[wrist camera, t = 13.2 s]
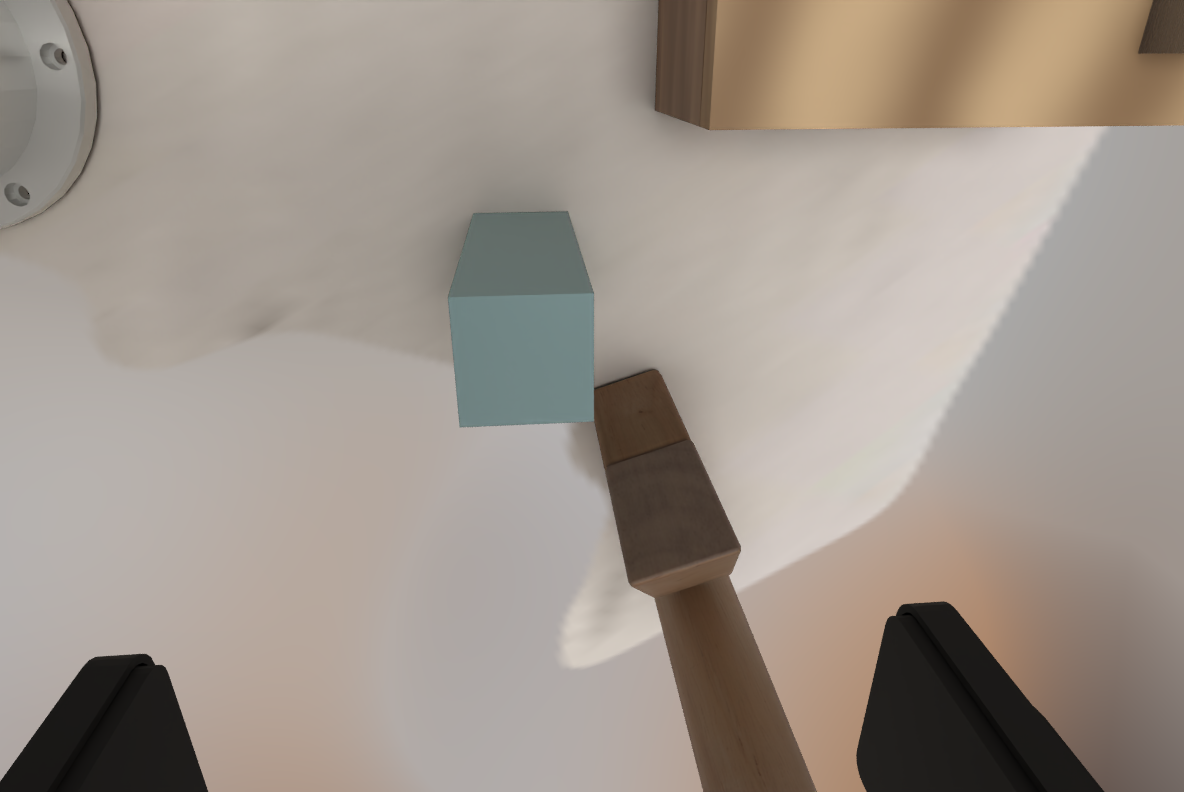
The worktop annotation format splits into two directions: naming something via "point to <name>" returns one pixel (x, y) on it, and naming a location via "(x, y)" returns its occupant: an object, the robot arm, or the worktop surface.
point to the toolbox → (680, 58)
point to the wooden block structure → (693, 590)
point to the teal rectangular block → (522, 322)
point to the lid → (942, 63)
